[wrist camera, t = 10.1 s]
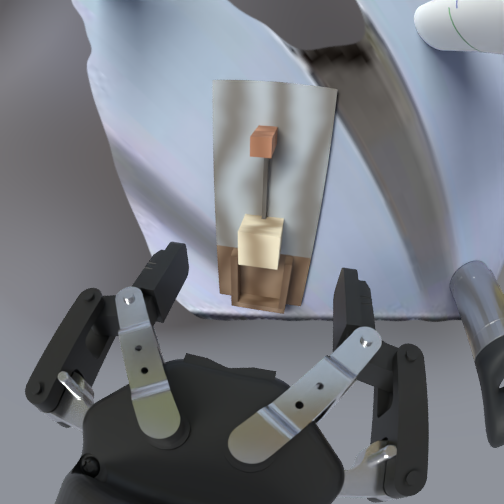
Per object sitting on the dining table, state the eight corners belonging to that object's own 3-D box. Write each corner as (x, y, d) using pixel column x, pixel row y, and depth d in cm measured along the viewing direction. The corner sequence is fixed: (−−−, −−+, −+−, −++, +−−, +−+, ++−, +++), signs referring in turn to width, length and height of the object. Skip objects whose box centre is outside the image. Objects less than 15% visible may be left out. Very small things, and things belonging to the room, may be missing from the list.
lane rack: (336, 89, 31) (339, 91, 28) (300, 303, 55) (299, 315, 52) (214, 80, 33) (206, 81, 30) (220, 290, 57) (216, 302, 54)
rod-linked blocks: (291, 127, 35) (287, 139, 30) (280, 249, 47) (276, 274, 42) (245, 124, 35) (234, 135, 31) (244, 245, 48) (236, 268, 43)
